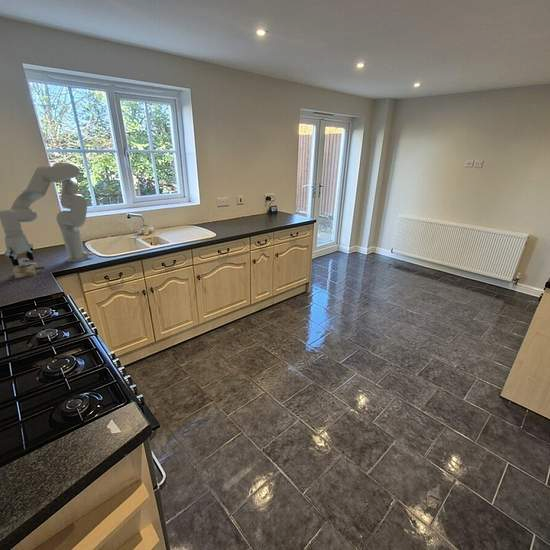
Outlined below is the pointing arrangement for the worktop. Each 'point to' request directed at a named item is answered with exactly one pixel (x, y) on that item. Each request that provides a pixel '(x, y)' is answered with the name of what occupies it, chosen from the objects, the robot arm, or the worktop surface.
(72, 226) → the robot arm
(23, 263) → the grey upright block
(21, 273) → the socket block
